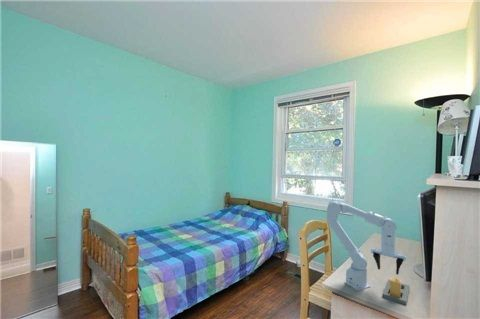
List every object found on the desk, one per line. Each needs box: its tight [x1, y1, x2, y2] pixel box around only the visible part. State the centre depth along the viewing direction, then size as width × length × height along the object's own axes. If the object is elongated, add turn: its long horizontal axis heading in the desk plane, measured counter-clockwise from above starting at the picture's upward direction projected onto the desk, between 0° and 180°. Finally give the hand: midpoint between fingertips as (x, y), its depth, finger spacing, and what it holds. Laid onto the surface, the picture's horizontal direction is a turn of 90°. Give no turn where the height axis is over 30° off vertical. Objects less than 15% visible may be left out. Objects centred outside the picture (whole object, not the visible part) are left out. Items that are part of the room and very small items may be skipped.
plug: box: [389, 276, 402, 298], centre depth 108 cm, size 4×4×8 cm
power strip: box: [381, 279, 410, 306], centre depth 111 cm, size 18×9×2 cm, turn 140°
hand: (388, 271), depth 113 cm, fingers open, 7 cm apart
